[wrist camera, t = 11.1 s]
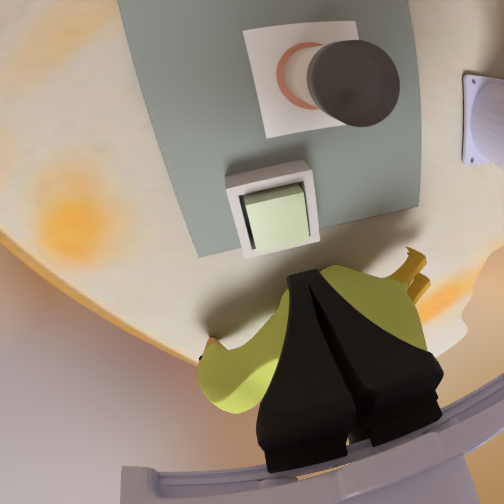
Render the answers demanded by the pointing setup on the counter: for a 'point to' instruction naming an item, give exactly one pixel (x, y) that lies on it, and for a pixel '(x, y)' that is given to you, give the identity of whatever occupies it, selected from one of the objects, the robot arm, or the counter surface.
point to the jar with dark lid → (345, 81)
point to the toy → (273, 332)
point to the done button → (277, 216)
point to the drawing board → (270, 111)
